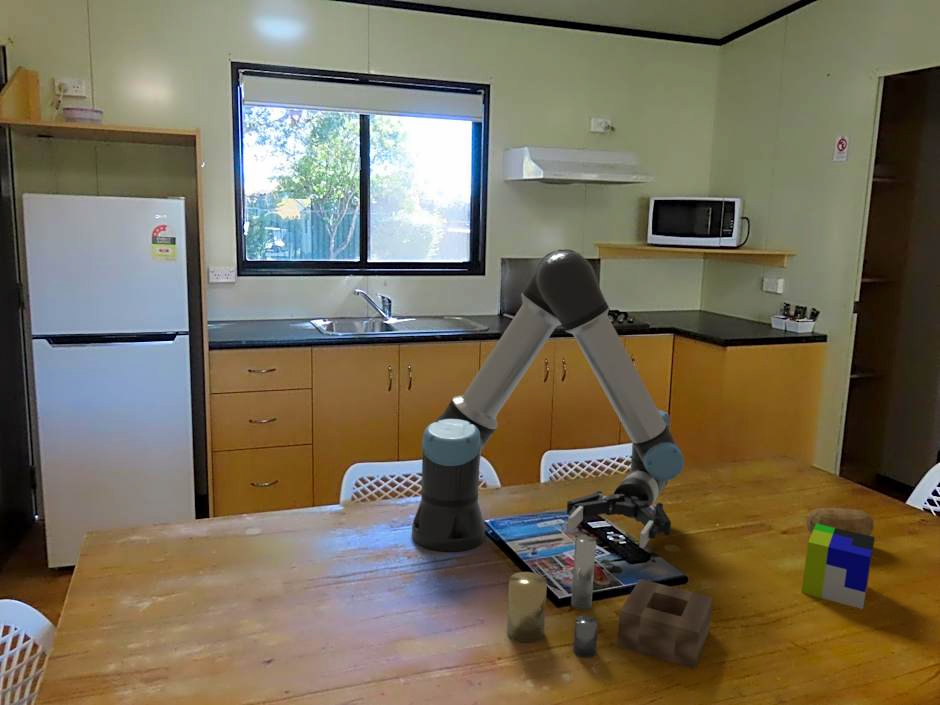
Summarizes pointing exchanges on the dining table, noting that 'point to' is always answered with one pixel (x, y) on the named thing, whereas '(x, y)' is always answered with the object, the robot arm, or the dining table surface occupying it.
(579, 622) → the short dark roller
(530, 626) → the fat brass roller
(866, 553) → the puzzle toy
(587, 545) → the steel roller
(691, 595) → the walnut block
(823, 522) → the potato
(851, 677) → the dining table surface
